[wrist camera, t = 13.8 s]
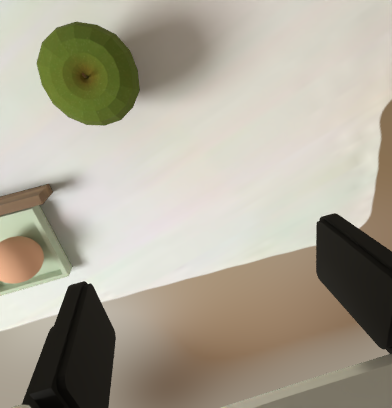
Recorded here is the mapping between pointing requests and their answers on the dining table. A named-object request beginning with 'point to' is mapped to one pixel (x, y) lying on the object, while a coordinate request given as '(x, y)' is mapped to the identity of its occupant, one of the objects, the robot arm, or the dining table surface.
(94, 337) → the robot arm
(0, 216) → the tray
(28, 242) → the ball
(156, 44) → the dining table surface
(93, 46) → the apple
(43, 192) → the board
